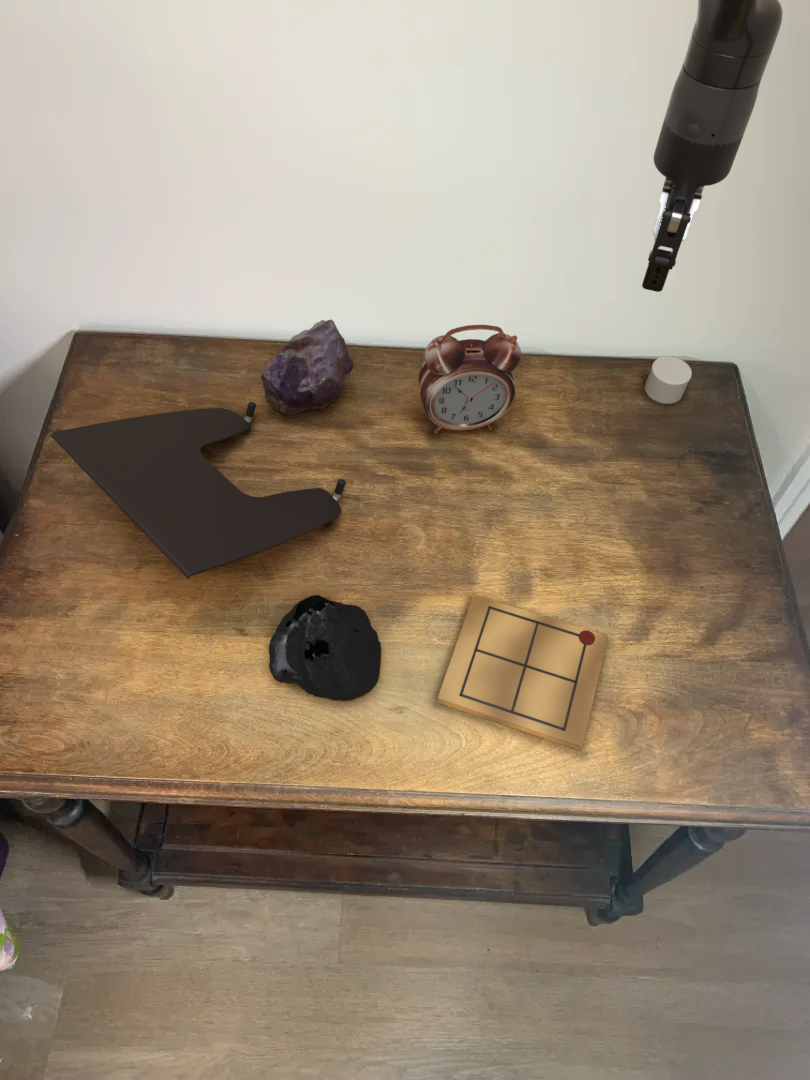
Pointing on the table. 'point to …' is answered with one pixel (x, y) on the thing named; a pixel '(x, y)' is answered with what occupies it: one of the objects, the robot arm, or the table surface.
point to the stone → (668, 379)
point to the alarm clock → (468, 379)
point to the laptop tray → (191, 487)
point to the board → (525, 671)
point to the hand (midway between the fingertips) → (657, 265)
